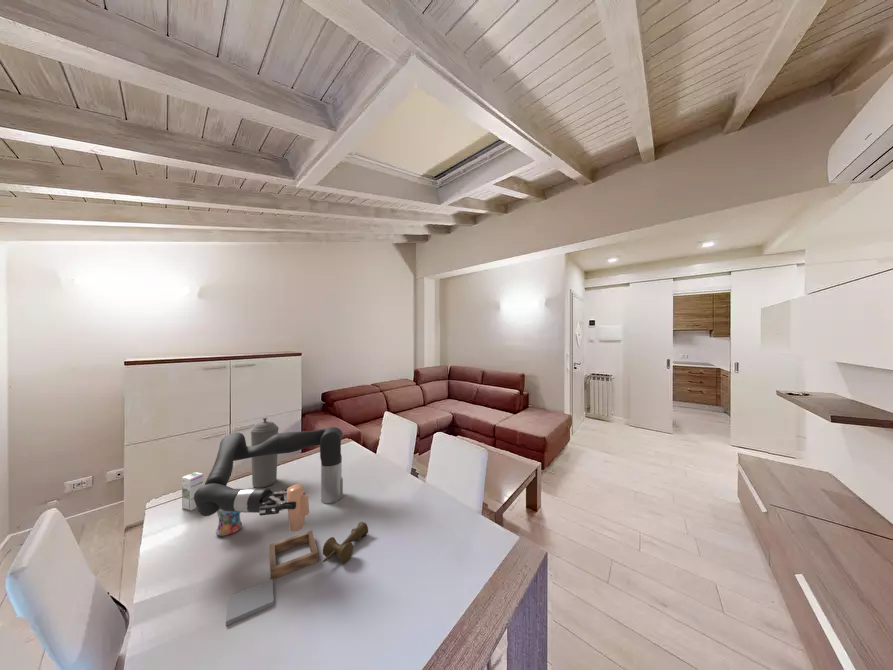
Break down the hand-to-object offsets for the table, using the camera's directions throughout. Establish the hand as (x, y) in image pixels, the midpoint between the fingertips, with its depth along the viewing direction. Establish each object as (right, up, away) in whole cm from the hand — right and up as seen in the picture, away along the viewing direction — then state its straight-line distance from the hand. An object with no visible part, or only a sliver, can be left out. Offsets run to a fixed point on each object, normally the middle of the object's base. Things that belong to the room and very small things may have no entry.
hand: (299, 500), depth 101 cm
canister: (-46, -21, +52) cm, 72 cm away
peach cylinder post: (-1, -9, +1) cm, 10 cm away
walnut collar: (-2, -20, 0) cm, 20 cm away
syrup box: (-65, -21, +31) cm, 75 cm away
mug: (-36, -20, +15) cm, 44 cm away
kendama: (+15, -21, +3) cm, 26 cm away
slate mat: (-5, -20, -17) cm, 27 cm away
